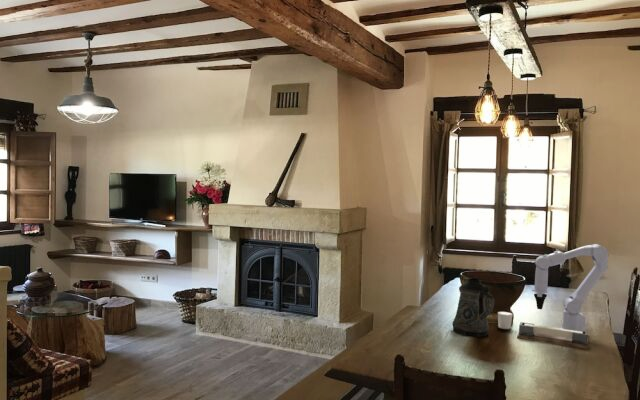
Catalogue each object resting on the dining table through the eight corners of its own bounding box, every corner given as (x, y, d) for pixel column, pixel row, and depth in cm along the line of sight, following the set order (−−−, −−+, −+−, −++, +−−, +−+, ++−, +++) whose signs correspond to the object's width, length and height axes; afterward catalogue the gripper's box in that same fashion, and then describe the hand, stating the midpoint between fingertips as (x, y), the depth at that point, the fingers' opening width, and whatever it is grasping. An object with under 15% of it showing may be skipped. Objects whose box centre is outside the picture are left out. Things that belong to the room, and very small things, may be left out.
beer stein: (457, 325, 263) (460, 274, 262) (498, 332, 253) (501, 279, 252) (447, 333, 249) (449, 279, 248) (490, 340, 239) (493, 284, 238)
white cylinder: (502, 329, 258) (503, 315, 258) (494, 325, 265) (494, 311, 264) (514, 329, 260) (515, 314, 260) (506, 325, 267) (507, 311, 266)
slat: (582, 338, 239) (582, 331, 239) (582, 340, 237) (582, 333, 236) (524, 329, 250) (524, 323, 250) (523, 331, 247) (524, 324, 247)
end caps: (587, 341, 240) (587, 331, 240) (587, 345, 234) (587, 335, 234) (520, 331, 252) (520, 322, 252) (518, 334, 246) (519, 325, 246)
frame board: (588, 342, 241) (588, 340, 241) (588, 348, 232) (588, 346, 232) (519, 332, 254) (519, 330, 254) (517, 337, 245) (517, 335, 245)
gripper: (533, 278, 271) (532, 304, 271) (531, 282, 258) (529, 310, 258) (548, 279, 268) (547, 306, 268) (547, 284, 255) (545, 312, 255)
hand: (539, 308), depth 263 cm, fingers closed
